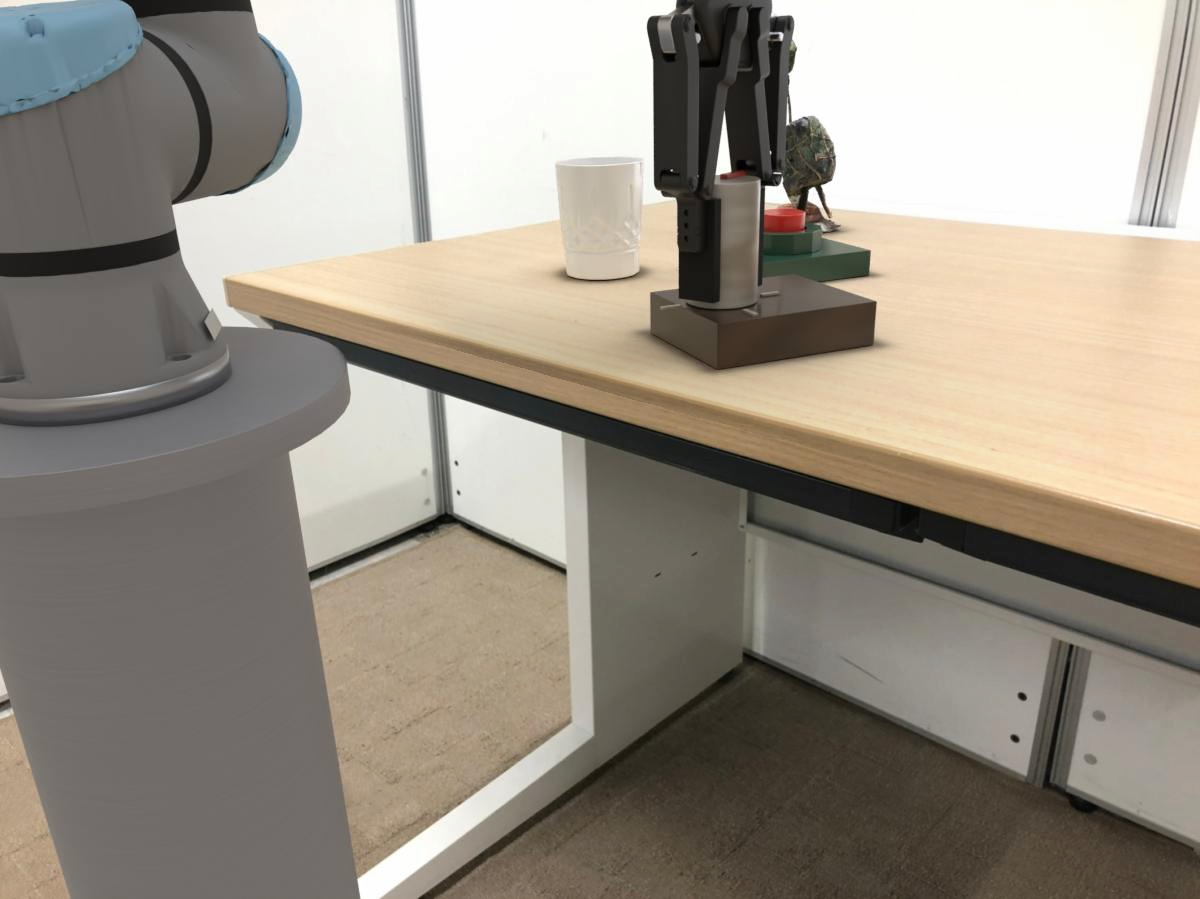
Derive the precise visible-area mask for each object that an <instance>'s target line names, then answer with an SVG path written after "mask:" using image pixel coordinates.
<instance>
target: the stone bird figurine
mask: <svg viewBox="0 0 1200 899" xmlns="http://www.w3.org/2000/svg"><path fill="white" fill-rule="evenodd" d="M797 51H798V47H797V45H796V43H795V41H794V39H793V38H792V42H791V47H790V52H789V67H788V95H787V113H788V124H786V151H785V167H784V170H783V171H782V172H781V173H780V174H782V181H781V184H782V188H783V189H784V192H785V194H786V196H787V198H788V200H789V202H790V203H789V202H788V203H783V204H781V205H777V207H776V209H798V210H802V211H805V222H806V223H812V224H816V225H820V226H821V228H822V234H823V233H825V232H832V231H835V230H838V228H840V227H841V226H842V225H841V224H839V223H836V222H835V221H832V218H833V216H834V215H833V211H832V210H831V209H830V207H829V206H828V204H827V202H826V194H825V192H824V189H823V187H822V186H824V185H827V184H828V183H831V182H832V181H833V179H834V176H835V171H836V167H837V154H836V152H835V144H834V142H833V141H832V139H831V137H830V135H829V133H828V130H827V129H826V128H825V127H824V124H822V122H821V121H820V119H819V118H818V117H816V116H815V115H808V116H805V115H804V116H801V118H798V119H795V120H793V119H792V104H791V102H792V101H791V97H790V96H791V95H790V83H791V80H790V75H789V74H790V73H792V71H793V70H794V66H795V62H796V53H797ZM812 188H814V189H815V191H816V192H817V195H818V198H819V202H821V206H822V207H823V210H824V212H825V214H826V216H827V217H828V218H826V217H825V216H824V215H823V214H822V210H821V209H820V207H819V206H818V205H817V204H814V203H813V202H811V201H809V200H808V199H809V195H810V194H809V193H810V190H812Z"/></svg>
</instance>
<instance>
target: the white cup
mask: <svg viewBox="0 0 1200 899" xmlns="http://www.w3.org/2000/svg"><path fill="white" fill-rule="evenodd" d="M644 164H645V160H644V159H643V157H637V156H628V155H623V156H622V155H599V156H598V155H597V156H582V157H570V158H564V159H559V160H556V161H554V171H555V181H556V182H555V183H556V192H557V204H558V214H559V215H558V216H559V226H560V231H561V242H562V246H563V247H564V249H563V250H564V260H565V271H566V275H567V276H569V277H570V278H571V277H572V278H575V279H580V280H589V281H590V280H592V281H593V280H594V281H595V280H596V281H597V280H598V281H599V280H600V281H602V280H605V281H606V280H616V279H623V278H629V277H631V276H634V275H636V274H638V273H639V272H640V255H641V253H640V251H641V250H640V249H641V247H640V244H641V241H642V226H643V224H642V223H643V210H644V209H643V207H644V205H643V204H644V167H645V165H644Z"/></svg>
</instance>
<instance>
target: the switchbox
mask: <svg viewBox="0 0 1200 899" xmlns="http://www.w3.org/2000/svg"><path fill="white" fill-rule="evenodd" d="M871 252H872V250H870V249H868V248H864V247H860V246H856V245H852V244H849V243H844V242H841V241H837V240H833V239H829V238H825V237H823V233H822V228H821V226H820V225H816V224H812V223H806V222H805V230H802V231H794V232H769V231H764V245H763V276H762V278H767V277H775V276H783V275H791V274H795V275H798V276H801V277H804V278H808V279H811V280H814V281H817V282H820V283H821V282H827V281H835V280H843V279H850V278H856V277H857V278H858V277H866V276H870V268H871V256H872V254H871Z"/></svg>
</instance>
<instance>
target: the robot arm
mask: <svg viewBox="0 0 1200 899" xmlns="http://www.w3.org/2000/svg"><path fill="white" fill-rule="evenodd" d="M794 30H795V19H794V17H793V15H791V14H790V15H789V14H788V15H777V14H776V13H775V12H774V11H773V0H675V9H674V10H672V11H670V12H669V13H668V14H662V15H661V14H660V15H659V14H658V15H650V16H649V17H648V19H647V22H646V33H647V38H648V42H649V47H650V52H651V57H652V95H653V96H652V105H653V106H652V110H653V111H652V112H653V113H652V114H653V115H652V117H653V120H652V121H653V122H652V124H653V125H652V126H653V132H652V133H653V136H652V137H653V186H654V188H655V190H656V191H659V192H660V194H661V196H662V197H663V198H673V199H675V200H676V210H677V211H676V227H677V228H676V234H677V235H676V236H677V237H676V243H677V248H678V289H679V299H685V300H692V301H699V302H706V303H713V304H714V303H716V302H719V301H720V251H721V199H717V198H711V197H712V195H713V190H714V182H715V175H717V167H718V161H719V160H718V159H719V154H720V145H721V138H722V131H723V124H724V117H725V127H726V135H727V146H728V155H729V164H730V172H733V171H738V170H742V171H746V172H745V175H746V176H754V177H758V178H760V179H761V189H760V222H759V256H758V286H761V285H762V276H763V245H764V213H765V210H766V209H765V208H766V187H776V188H777V187H779V186H780V185H781V184H782V181H783V177H782V174H781V172H782V171H783V170H784V167H785V151H786V126H787V120H788V119H787V118H788V97H787V95H788V75H789V74H788V67H789V52H790V47H791V42H792V39H793V36H794ZM296 76H297V75H296V73H295V71H294V69H293V67H292V65H291V64H290V62H289V60H288V59H287V57H286V56H285V55H284V53H283V51H281V50H279V49H277V48H276V47H275V46H274V44H273V43H272V42H271V40H269V39H268V38H266V36H265V35H263V34H261V33H260V32H259V30H258V26H257V22H256V18H255V14H254V9H253V5H252V1H251V0H66V1H55V2H40V3H32V4H30V3H29V4H22V5H18V6H16V5H13V6H12V5H11V6H1V7H0V423H3V424H9V425H18V426H41V427H45V426H69V425H81V424H90V423H98V422H105V421H112V420H118V419H124V418H129V417H134V416H139V415H143V414H148V413H152V412H156V411H159V410H163V409H167V408H170V407H174V406H177V405H180V404H183V403H186V402H188V401H191V400H194V399H196V398H199V397H201V396H203V395H205V394H207V393H209V392H211V391H213V390H215V389H216V388H218V387H220V386H221V385H222V384H224V383H225V382H226V381H227V380H228V379H229V378H230V376H231V374H232V366H231V360H230V355H229V349H228V345H227V343H226V342H225V339H224V337H223V335H222V333H221V331H220V329H221V327H222V326H223V325H222V323H221V321H220V319H219V317H218V315H217V314H216V311H215V310H214V308H213V307H211V309H209V308H208V305H207V303H206V302H205V300H204V299H203V296H202V295H201V293H200V291H199V289H198V287H197V285H196V284H195V282H194V280H193V278H192V277H191V274H190V272H189V271H188V269H187V267H186V265H185V262H184V260H183V255H182V251H181V246H180V241H179V235H178V231H177V225H176V224H177V223H176V219H175V213H174V208H173V206H175V205H179V204H184V203H187V202H188V203H189V202H192V201H196V200H200V199H206V198H209V197H221V196H226V195H234V194H237V193H240V192H243V191H245V190H246V189H248V188H250V187H252V186H254V185H256V184H259V183H261V182H263V181H265V180H267V179H269V178H270V177H271V176H273V175H274V174H276V173H277V172H278V171H279V170H280V169H281V168H282V167H283V166H284V164H285V163H286V161H287V160H288V159H289V157H290V155H291V153H292V152H293V151H294V149H295V147H296V145H297V142H298V140H299V136H300V133H301V128H302V123H303V122H302V121H303V101H302V95H301V94H302V93H301V89H300V85H299V82H298V79H297V77H296Z"/></svg>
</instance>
